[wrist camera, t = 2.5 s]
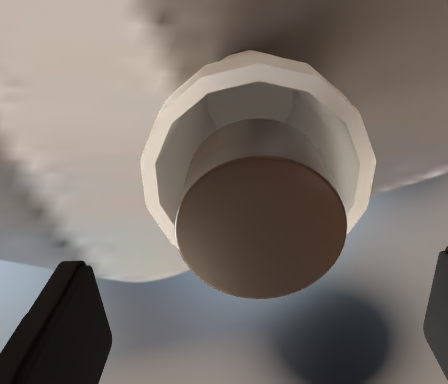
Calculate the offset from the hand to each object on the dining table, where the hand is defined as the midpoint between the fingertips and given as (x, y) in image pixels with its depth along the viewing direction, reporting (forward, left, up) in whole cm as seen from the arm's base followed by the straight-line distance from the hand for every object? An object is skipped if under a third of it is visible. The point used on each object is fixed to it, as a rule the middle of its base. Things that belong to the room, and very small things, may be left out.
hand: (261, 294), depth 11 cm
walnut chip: (0, 0, -6) cm, 6 cm away
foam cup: (0, 0, -19) cm, 19 cm away
